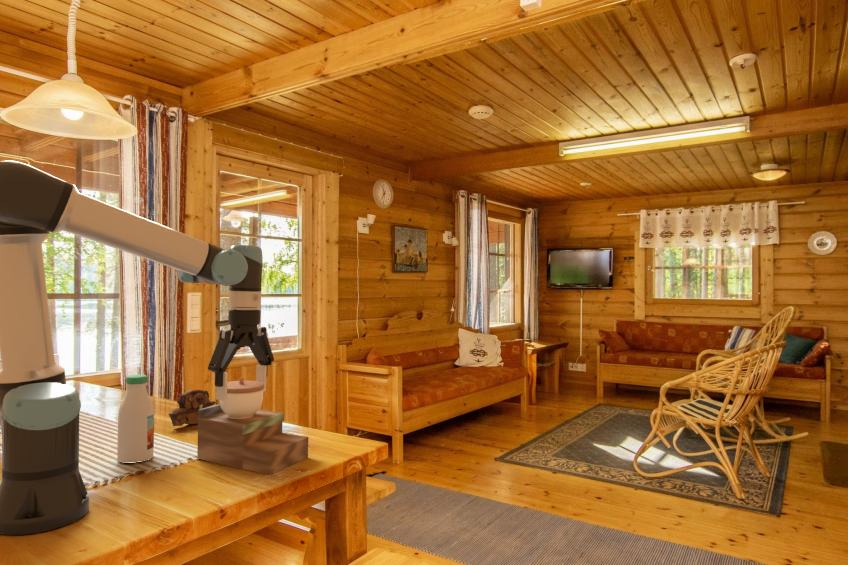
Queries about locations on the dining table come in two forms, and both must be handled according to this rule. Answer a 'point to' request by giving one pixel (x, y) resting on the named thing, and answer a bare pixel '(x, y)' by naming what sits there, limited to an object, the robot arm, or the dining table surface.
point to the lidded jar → (242, 399)
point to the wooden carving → (190, 407)
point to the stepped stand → (248, 441)
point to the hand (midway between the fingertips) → (241, 395)
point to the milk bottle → (135, 422)
